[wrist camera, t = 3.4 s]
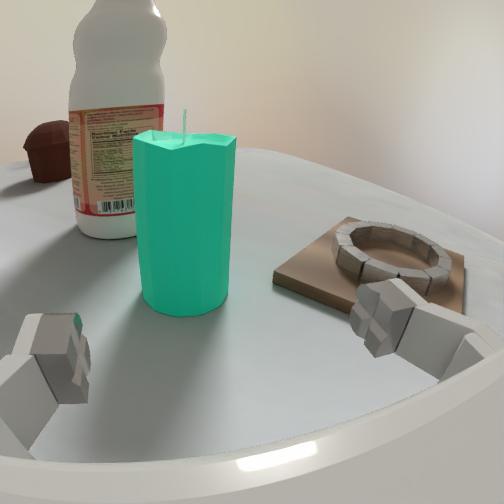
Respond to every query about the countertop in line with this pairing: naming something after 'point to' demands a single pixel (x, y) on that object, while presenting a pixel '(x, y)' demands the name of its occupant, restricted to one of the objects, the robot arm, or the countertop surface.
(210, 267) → the candle
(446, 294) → the ring board
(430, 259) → the ring collar
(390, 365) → the countertop surface
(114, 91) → the fruit juice
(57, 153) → the muffin
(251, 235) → the countertop surface
